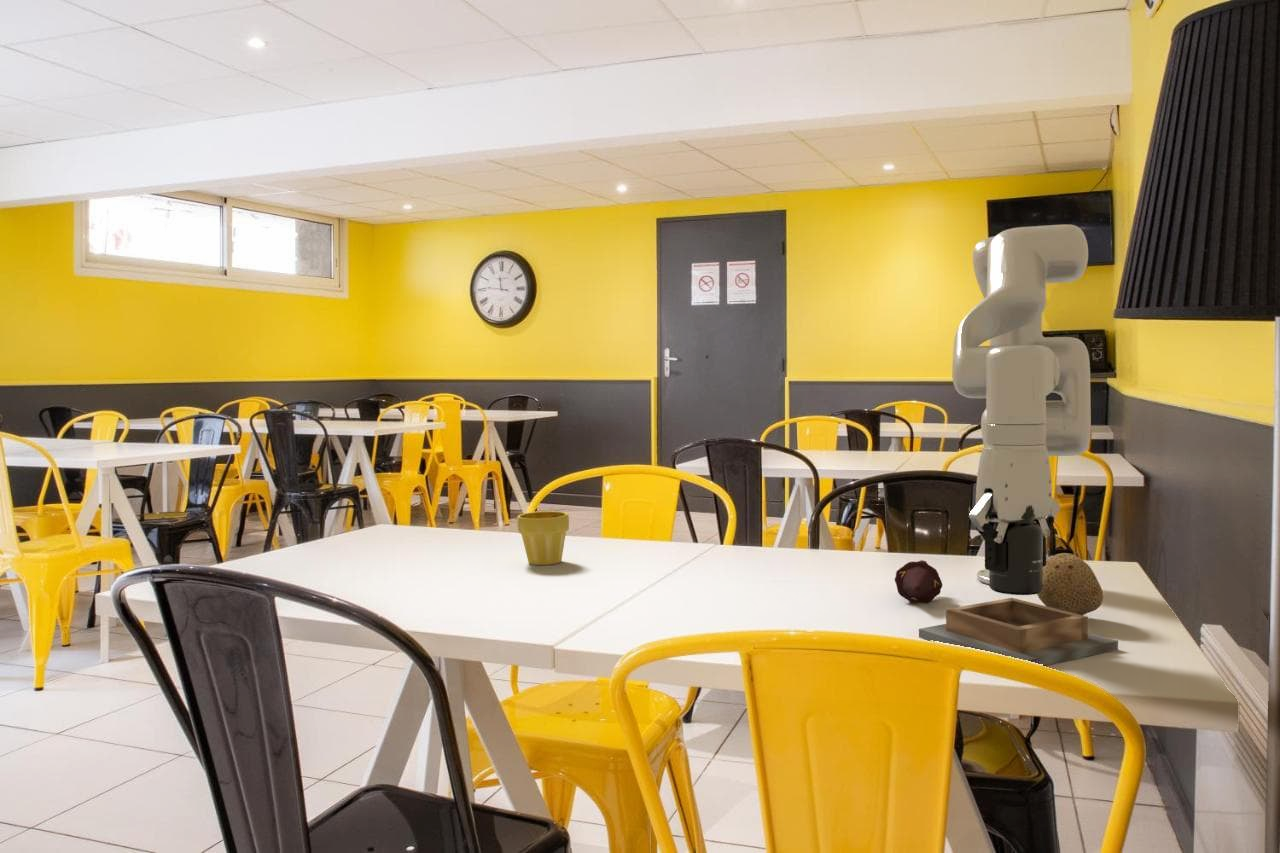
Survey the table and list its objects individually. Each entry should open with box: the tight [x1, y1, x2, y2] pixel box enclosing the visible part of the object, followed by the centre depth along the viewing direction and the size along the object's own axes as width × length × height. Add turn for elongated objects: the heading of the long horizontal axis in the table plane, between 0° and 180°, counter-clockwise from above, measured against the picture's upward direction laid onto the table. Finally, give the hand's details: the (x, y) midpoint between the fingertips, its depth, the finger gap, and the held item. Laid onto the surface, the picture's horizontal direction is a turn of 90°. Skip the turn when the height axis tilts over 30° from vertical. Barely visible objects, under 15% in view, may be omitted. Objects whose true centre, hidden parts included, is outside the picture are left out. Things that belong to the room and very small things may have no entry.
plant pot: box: [516, 510, 570, 566], centre depth 197 cm, size 10×10×10 cm
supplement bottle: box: [988, 505, 1043, 596], centre depth 133 cm, size 7×7×12 cm
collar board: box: [918, 597, 1119, 666], centre depth 133 cm, size 18×18×4 cm
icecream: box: [894, 559, 943, 604], centre depth 158 cm, size 7×7×15 cm
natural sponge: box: [1036, 552, 1104, 616], centre depth 145 cm, size 9×9×10 cm
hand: (1015, 566), depth 133 cm, fingers closed on supplement bottle, 6 cm apart
